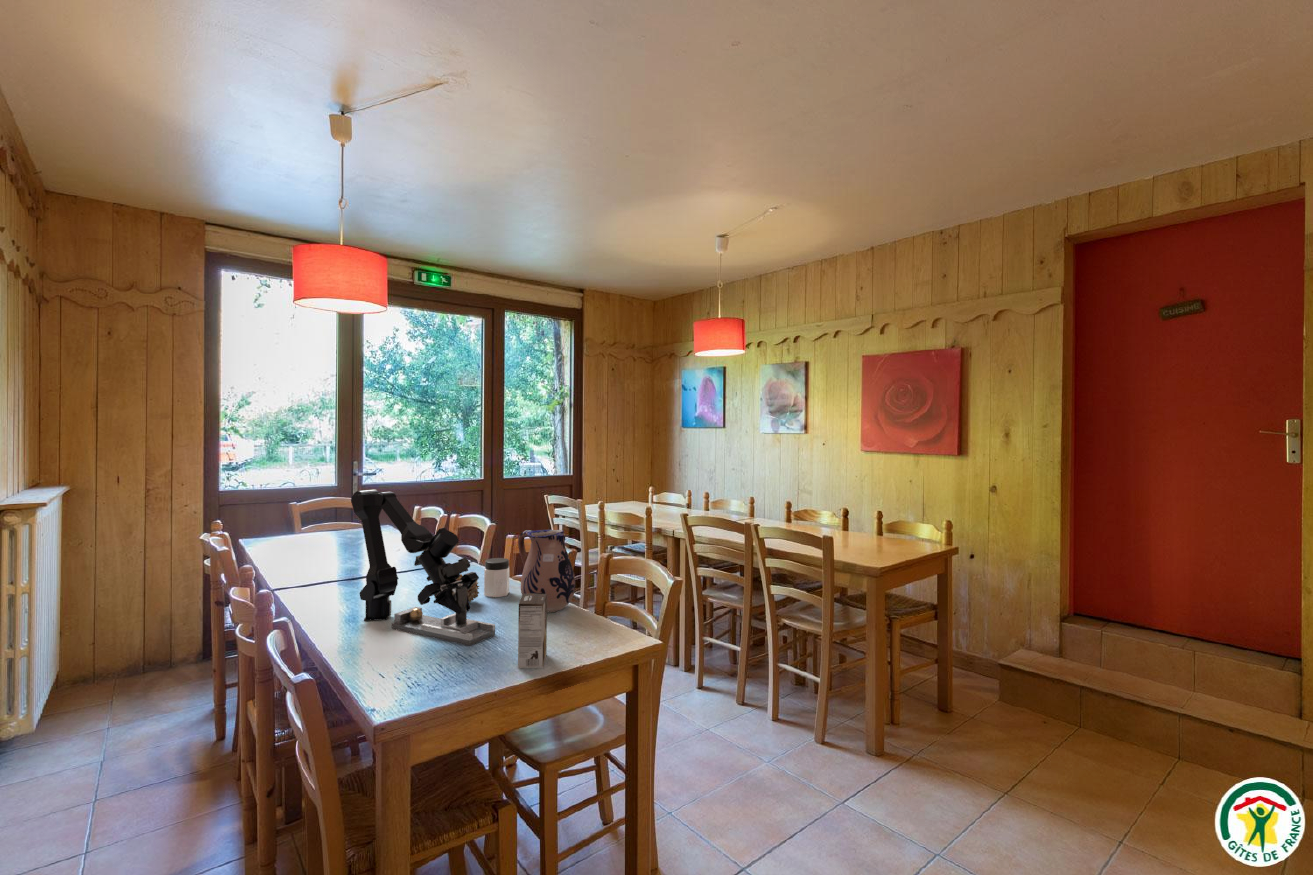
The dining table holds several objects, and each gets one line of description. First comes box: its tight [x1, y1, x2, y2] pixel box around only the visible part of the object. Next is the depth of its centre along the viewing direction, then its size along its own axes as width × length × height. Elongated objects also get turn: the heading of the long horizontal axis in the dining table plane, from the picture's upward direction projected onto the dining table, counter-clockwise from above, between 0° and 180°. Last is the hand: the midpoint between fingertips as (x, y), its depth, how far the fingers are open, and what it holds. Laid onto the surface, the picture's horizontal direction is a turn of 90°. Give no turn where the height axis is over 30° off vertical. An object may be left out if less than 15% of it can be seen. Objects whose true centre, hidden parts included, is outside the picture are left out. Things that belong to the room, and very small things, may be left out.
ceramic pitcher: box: [517, 529, 576, 613], centre depth 199 cm, size 18×21×25 cm
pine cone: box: [452, 573, 480, 603], centre depth 206 cm, size 22×10×10 cm, turn 49°
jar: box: [483, 557, 510, 598], centre depth 215 cm, size 9×8×12 cm
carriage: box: [440, 586, 479, 633], centre depth 172 cm, size 7×7×12 cm
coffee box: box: [517, 593, 548, 669], centre depth 154 cm, size 9×6×16 cm
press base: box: [390, 606, 496, 647], centre depth 175 cm, size 30×10×5 cm, turn 64°
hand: (464, 611), depth 171 cm, fingers closed on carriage, 3 cm apart
